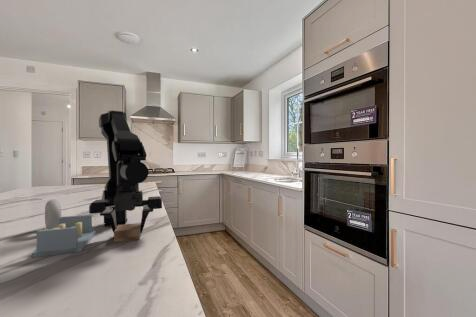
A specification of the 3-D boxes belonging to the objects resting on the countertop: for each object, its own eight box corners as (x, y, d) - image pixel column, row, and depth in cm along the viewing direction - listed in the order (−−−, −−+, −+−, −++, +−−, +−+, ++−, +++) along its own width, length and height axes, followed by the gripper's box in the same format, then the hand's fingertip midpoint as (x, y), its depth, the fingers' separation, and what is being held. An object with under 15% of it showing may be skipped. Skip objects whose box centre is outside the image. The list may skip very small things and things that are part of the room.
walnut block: (141, 232, 73) (141, 222, 73) (139, 239, 66) (139, 229, 66) (118, 234, 71) (118, 224, 71) (114, 242, 64) (113, 231, 64)
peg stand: (95, 233, 72) (95, 214, 71) (80, 251, 58) (80, 227, 58) (56, 237, 68) (56, 217, 68) (31, 257, 55) (31, 232, 55)
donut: (62, 232, 73) (62, 200, 73) (48, 235, 71) (48, 202, 70) (57, 226, 80) (56, 196, 80) (44, 228, 77) (43, 198, 77)
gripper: (82, 185, 58) (83, 248, 58) (161, 182, 64) (162, 239, 64) (94, 180, 68) (95, 233, 68) (161, 178, 74) (162, 227, 74)
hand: (128, 233), depth 68 cm, fingers closed on walnut block, 6 cm apart
